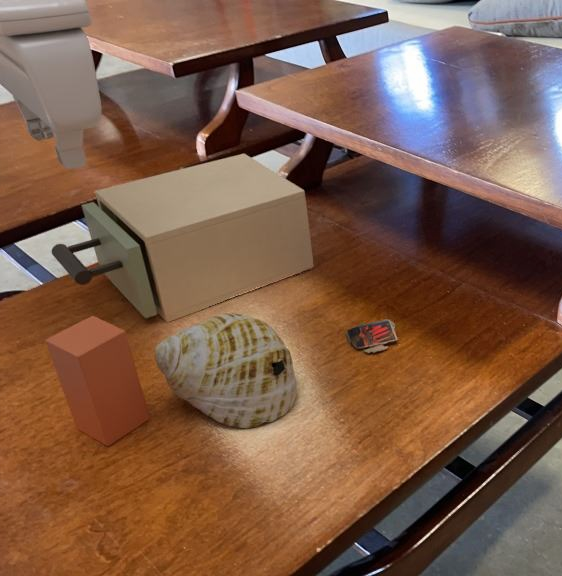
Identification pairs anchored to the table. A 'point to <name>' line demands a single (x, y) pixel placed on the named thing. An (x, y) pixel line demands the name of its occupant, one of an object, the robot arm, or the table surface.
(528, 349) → the table surface
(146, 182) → the cabinet
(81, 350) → the block
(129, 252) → the drawer
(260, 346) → the seashell
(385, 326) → the matchbox
